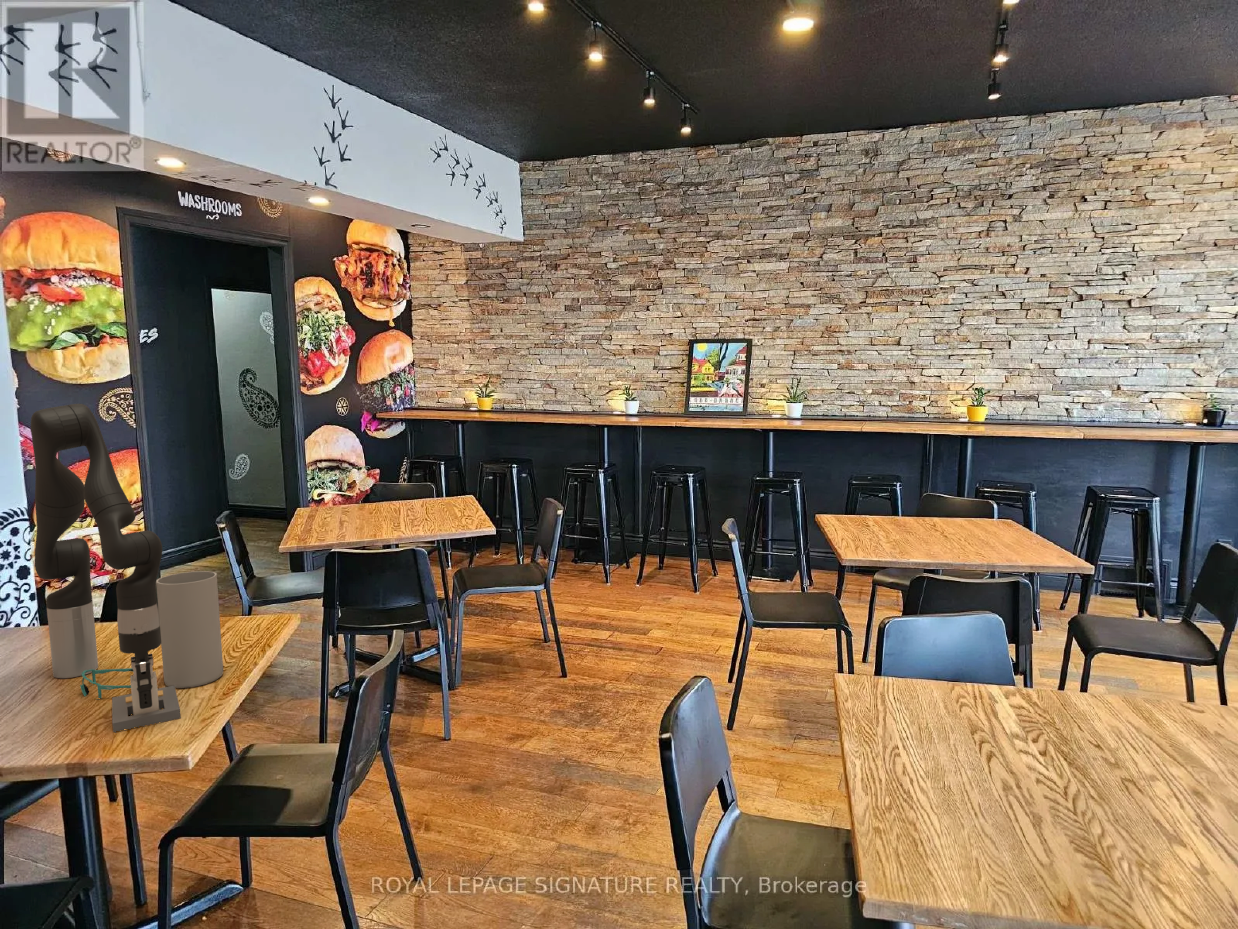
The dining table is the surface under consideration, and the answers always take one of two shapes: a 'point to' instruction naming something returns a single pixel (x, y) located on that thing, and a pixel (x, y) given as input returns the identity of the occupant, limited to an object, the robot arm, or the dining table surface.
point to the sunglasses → (100, 687)
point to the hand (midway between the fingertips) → (145, 700)
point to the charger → (135, 696)
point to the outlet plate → (125, 707)
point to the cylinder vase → (190, 628)
